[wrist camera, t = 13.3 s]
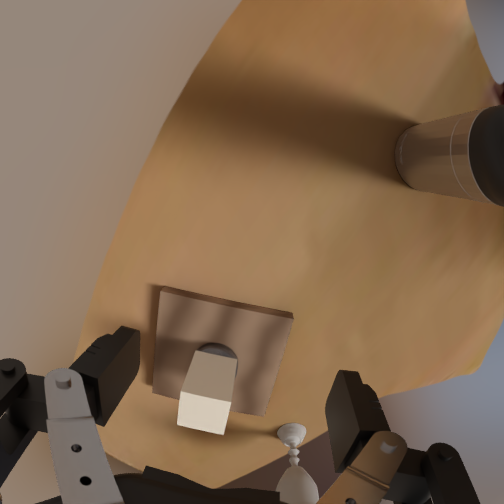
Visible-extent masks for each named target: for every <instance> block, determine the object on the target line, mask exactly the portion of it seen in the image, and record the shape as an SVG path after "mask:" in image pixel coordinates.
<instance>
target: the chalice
mask: <svg viewBox="0 0 504 504" xmlns="http://www.w3.org/2000/svg"><path fill="white" fill-rule="evenodd" d="M277 435H278V437H279V438H280V440H281V441H282V443H283V444H284V445H286V446H289V447H290V450H289V451H288V454H290V455H291V458H290V459H289V461H290V462H291V465H292V467H290V468H288V469H287V470H286V471H285V473H284V474H283V476H282V478H281V479H280V481H279V483H278V486H277V488H276V491H277V492H280V501H283V502H286V503H288V504H316V503H317V502H318V500H319V497H318V489H317V486H316V484H315V483H314V481H313V479H312V478H311V477H310V476H309V474H308V473H307V472H306V471H305V470H304V469H303V468H302V467H299V466H298V462H299V459H298V458H297V454H298V453H299V451H298V450H297V449H296V446H297V445H299V444H300V443H301V442H302V441H303V439H304V436H305V435H306V428H305V427H304V426H303V425H301V424H298V423H289V424H285V425H283V426H282V427H280V428H279V430H278V432H277Z"/></svg>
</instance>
